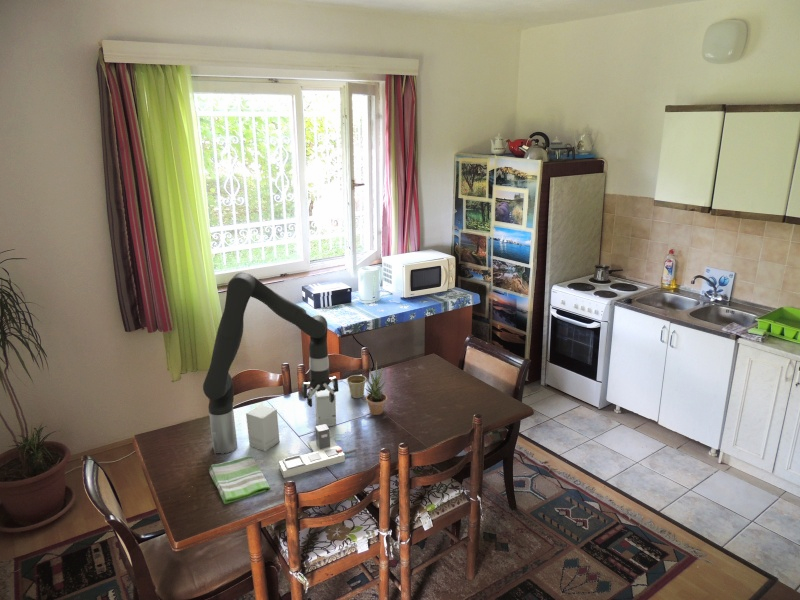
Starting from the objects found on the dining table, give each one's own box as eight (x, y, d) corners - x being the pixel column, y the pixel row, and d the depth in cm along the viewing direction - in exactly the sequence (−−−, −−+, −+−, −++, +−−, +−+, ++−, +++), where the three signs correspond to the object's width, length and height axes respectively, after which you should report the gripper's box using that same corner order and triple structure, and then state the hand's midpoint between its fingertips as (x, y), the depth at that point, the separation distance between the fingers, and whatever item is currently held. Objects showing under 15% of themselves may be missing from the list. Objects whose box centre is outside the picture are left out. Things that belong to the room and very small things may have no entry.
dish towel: (253, 459, 222) (252, 451, 221) (272, 490, 203) (271, 481, 202) (208, 473, 214) (207, 465, 213) (224, 506, 195) (222, 497, 194)
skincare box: (318, 428, 243) (316, 397, 239) (315, 421, 249) (313, 391, 244) (337, 425, 246) (335, 394, 241) (334, 418, 251) (333, 388, 247)
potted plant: (390, 414, 254) (389, 364, 247) (370, 418, 251) (368, 367, 244) (382, 404, 263) (381, 355, 256) (363, 408, 260) (361, 359, 252)
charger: (319, 449, 226) (318, 431, 224) (316, 443, 230) (315, 426, 228) (330, 446, 228) (329, 429, 226) (326, 441, 232) (325, 423, 230)
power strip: (284, 477, 209) (283, 469, 208) (279, 468, 215) (278, 459, 214) (359, 457, 222) (358, 448, 220) (352, 448, 228) (352, 440, 227)
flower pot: (344, 393, 275) (343, 377, 272) (362, 389, 278) (362, 373, 276) (351, 401, 267) (350, 384, 264) (369, 397, 270) (369, 381, 268)
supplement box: (280, 441, 234) (277, 409, 229) (265, 452, 226) (262, 418, 222) (264, 435, 238) (261, 403, 234) (248, 445, 231) (245, 413, 226)
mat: (315, 455, 223) (315, 454, 223) (308, 443, 232) (308, 442, 232) (339, 449, 227) (339, 447, 227) (331, 437, 236) (331, 436, 236)
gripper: (304, 373, 213) (306, 411, 218) (339, 366, 219) (341, 404, 224) (298, 366, 219) (300, 403, 224) (333, 359, 225) (334, 396, 230)
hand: (321, 403), depth 224 cm, fingers open, 8 cm apart
